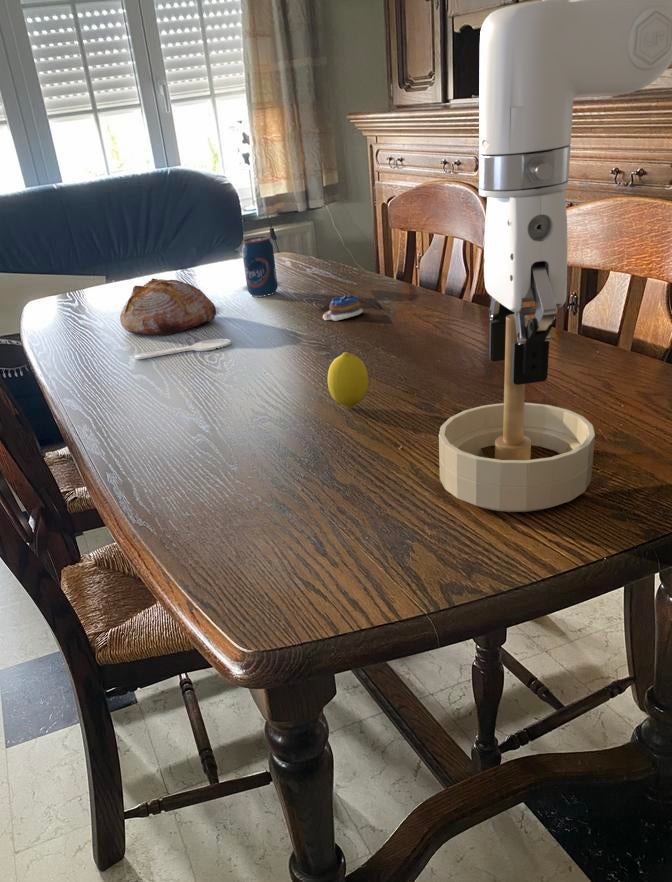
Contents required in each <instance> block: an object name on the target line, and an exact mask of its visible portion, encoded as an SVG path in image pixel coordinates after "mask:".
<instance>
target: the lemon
mask: <svg viewBox="0 0 672 882" xmlns="http://www.w3.org/2000/svg"><path fill="white" fill-rule="evenodd" d="M369 382H370V381H369V374H368V370H367V367H366V365H365V363H364V361H363V360H362V359H361V358H360V357H358V356H357V355H355V354H351V353H349V352H347V351H345V352H342V354H341V355H339V356H337V357H336V358H334V360H333V361H332V362H331V364H330V365H329V368H328V372H327V387H328V391H329V393H330V396H331V398H332V400H334V401H335V403H338V404H339V405H342V406H344V407H345V408H347V409H348V410H349V409H350V410H351V409H353V408H354V407H355V406H356V405H357V404H359V403H361V402H362V401H363V400H364V399H365V397H366V395H367V393H368V390H369Z"/></svg>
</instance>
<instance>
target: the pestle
mask: <svg viewBox="0 0 672 882" xmlns="http://www.w3.org/2000/svg"><path fill="white" fill-rule="evenodd" d="M528 322H529V315H528V316H525V325H526V326H527V324H528ZM513 342H517V334H516V325H515V316H514V314H511V315H508V316H507V317H506V340H505V360H504V381H503V383H504V386H503V390H504V391H503V403H504V421H503V436H500V437H498V438H497V439H496V440H495V445H494V459H498V460H531V457H532V456H531V455H532V445H531V440H530V438H528V437H526V436H523V431H524V406H525V403H526V384H520V385H515V384H514V383H513V382H512V358H513Z"/></svg>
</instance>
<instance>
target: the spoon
mask: <svg viewBox="0 0 672 882" xmlns="http://www.w3.org/2000/svg"><path fill="white" fill-rule="evenodd" d="M230 343H231V344H232V340H231V339H229V338H211V339H204V340H200V341H198V342H195V343H193V344H191V345H186V346H179V347H176V348H175V347H172V348H165V349H158V350H156V349H155V350H153V351H152V350H151V351H148V352H147V351H146V352H141V353H135V354H134V355H133V359H134V360H144V359H149V358H155V357H161V356H167V355H171V354H178V353H182V352H187V351H196V352H205V351H212V350H217V349H216V348H218V349H221V348H224V347H223V346H225V347H227V346H229V345H231V344H230ZM228 344H229V345H228ZM226 345H227V346H226ZM220 347H221V348H220Z"/></svg>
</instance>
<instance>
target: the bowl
mask: <svg viewBox="0 0 672 882" xmlns="http://www.w3.org/2000/svg"><path fill="white" fill-rule="evenodd" d="M503 421H504V402H501V403H500V402H499V403H493V404H486V405H485V404H484V405H480V406H476V407H472V408H468V409H465V410H462V411H461V412H458V413H457V414H454V415H452V416H450V417H449V418H448V419H446V421H445V422H443V423H442V425H441V426H440V428H439V433H438V459H439V481H440V483H441V484H442V486H443V488H444V490H445V491H447V492H448V493H449V494H450V495H452V496H453V497H455V498H456V499H458V500H460V501H464V502H466V503H468V504H470V505H473V506H475V507H478V508H482V509H486V510H490V511H497V512H505V513H526V512H527V513H528V512H536V511H542V510H547V509H550V508H553V507H557V506H559V505H562V504H565V503H569V502H572V501H573V500H574V499H576V498H577V497H579V496H580V495H582V494H583V493H585V492H586V491H587V488H588V487H589V486H590V484H591V482H592V473H593V463H594V451H595V441H596V440H595V439H596V433H595V428H594V425H593V423H591V422H590V421H589V420H588V419H587V418H586V417H584V416H583V415H581V414H579V413H576V412H574V411H572V410H571V409H567V408H563V407H559V406H554V405H550V404H542V403H535V402H534V403H533V402H525V406H524V431H523V436H526V437H528V438H530V440H531V446H533V447H540V448H544V449H547V450H551V451H554V452H556V453H558V454H557V455H553V456H550V457H542V458H533V459H530V460H498V459H495V458H490V457H487V455H486V454H485V452H484V451H483V448H487V447H493V446H494V447H495V440H496V439H497V438H498V437H500V436H503Z"/></svg>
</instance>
